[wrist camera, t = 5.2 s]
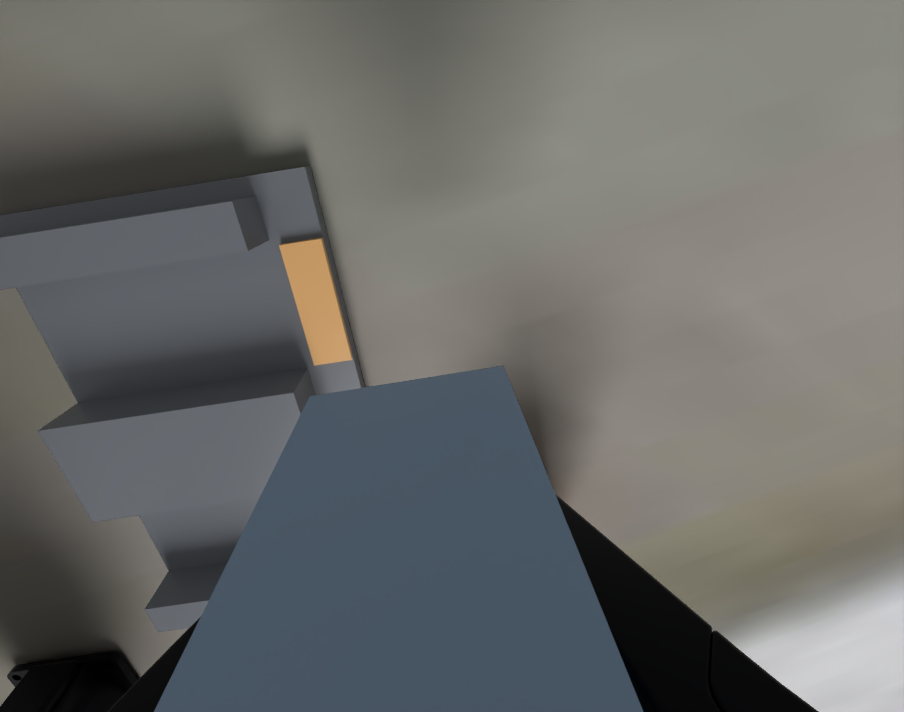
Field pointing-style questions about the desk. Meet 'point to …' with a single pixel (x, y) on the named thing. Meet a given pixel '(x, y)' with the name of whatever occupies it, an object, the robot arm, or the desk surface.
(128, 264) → the grey slotted base
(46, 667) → the robot arm
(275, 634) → the blue plug
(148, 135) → the desk surface
